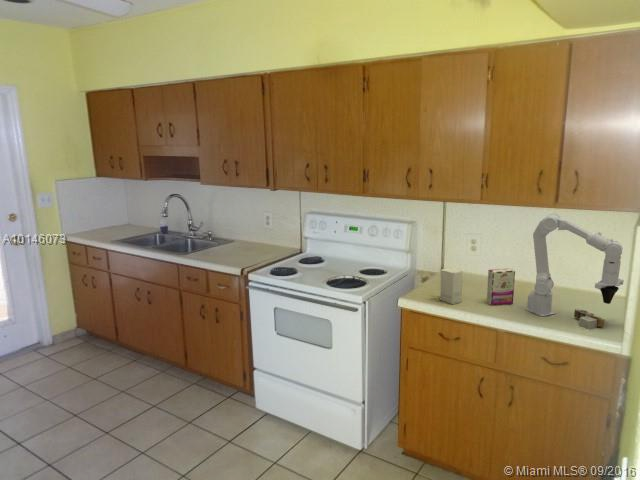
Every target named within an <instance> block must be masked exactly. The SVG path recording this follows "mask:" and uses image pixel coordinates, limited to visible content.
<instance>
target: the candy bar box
mask: <svg viewBox="0 0 640 480" xmlns="http://www.w3.org/2000/svg"><path fill="white" fill-rule="evenodd" d="M487 273H488V275H487V288H486V289H487V291H486V303H487V304H488V305H490V306H503V305H514V296H515V293H514V292H515V277H516V270H514V269H512V268H510V267H507V268H493V269H488V271H487Z"/></svg>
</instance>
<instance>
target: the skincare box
mask: <svg viewBox="0 0 640 480" xmlns="http://www.w3.org/2000/svg"><path fill="white" fill-rule="evenodd" d="M439 296H440V301H442V302H445V303H447V304H450V305H455V304H460V303H462V302H463V300H462V299H463V298H462V297H463V270H461V269H455V268H453V267H447V268H443V269H440V295H439Z"/></svg>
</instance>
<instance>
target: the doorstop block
mask: <svg viewBox="0 0 640 480" xmlns="http://www.w3.org/2000/svg"><path fill="white" fill-rule="evenodd" d="M578 326H579V327H582V328H585V329H587V330H591V329H595V328H597V327H598V326H597V319H594V318H591V317H588V316H585V317H581V318H580V319H579V321H578Z"/></svg>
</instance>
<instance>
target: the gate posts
mask: <svg viewBox="0 0 640 480" xmlns="http://www.w3.org/2000/svg"><path fill="white" fill-rule="evenodd" d="M590 313H591V314H592V315H593V316H595V315H594V313H592V312H590ZM585 316H586V315H585V314H581V313H580V318H581V317H585ZM580 318H577V322H579V319H580Z"/></svg>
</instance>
